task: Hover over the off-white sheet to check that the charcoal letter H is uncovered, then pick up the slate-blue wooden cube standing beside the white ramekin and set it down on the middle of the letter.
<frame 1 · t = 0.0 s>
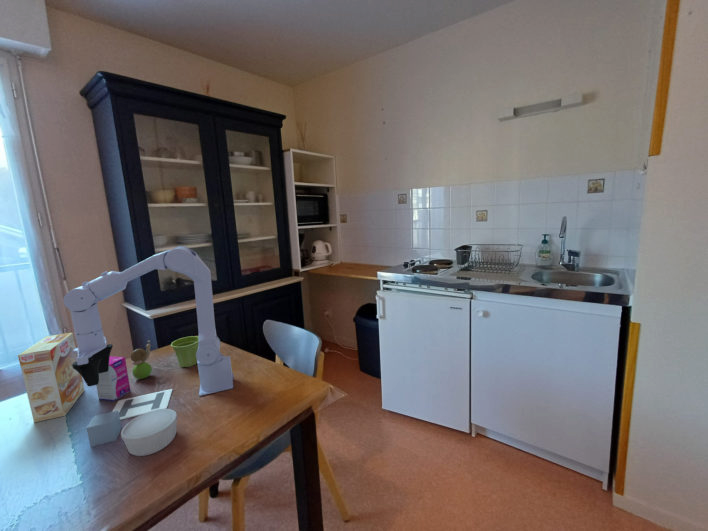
hand: (98, 378, 88), 10 cm above the table, tool pointing down, fingers open, 7 cm apart
supplement box: (115, 396, 98), on the table
plant pot: (189, 364, 116), on the table
snail figurine: (145, 377, 108), on the table
ramekin: (153, 443, 76), on the table
blue cube: (106, 437, 79), on the table
coffeecake box: (61, 405, 94), on the table
letter sheet: (142, 405, 92), on the table
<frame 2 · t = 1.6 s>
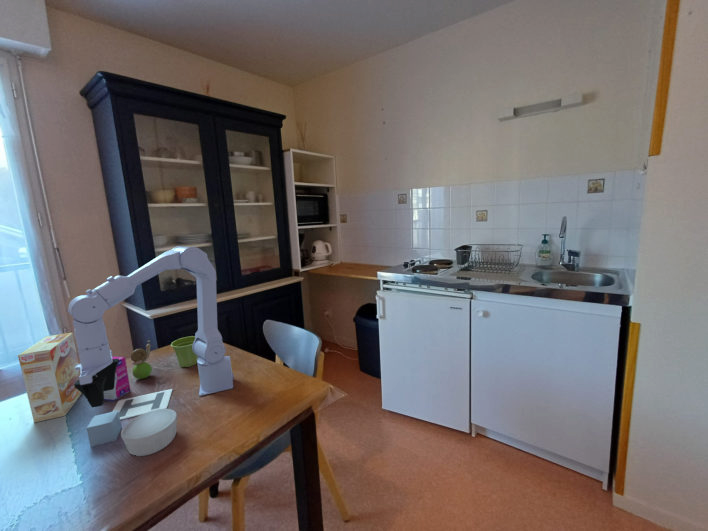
hand: (103, 397, 79), 10 cm above the table, tool pointing down, fingers open, 7 cm apart
nothing on the table moved.
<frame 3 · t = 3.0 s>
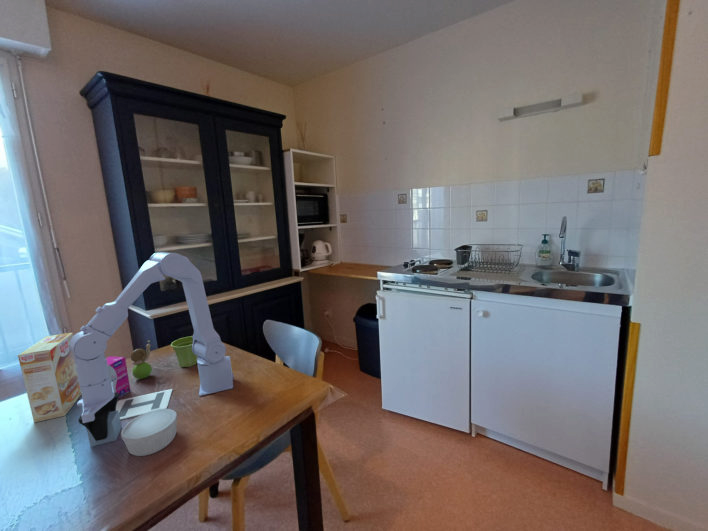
hand: (105, 431, 79), 1 cm above the table, tool pointing down, fingers closed on blue cube, 5 cm apart
blue cube: (106, 436, 79), on the table, touching gripper
everything else where it was.
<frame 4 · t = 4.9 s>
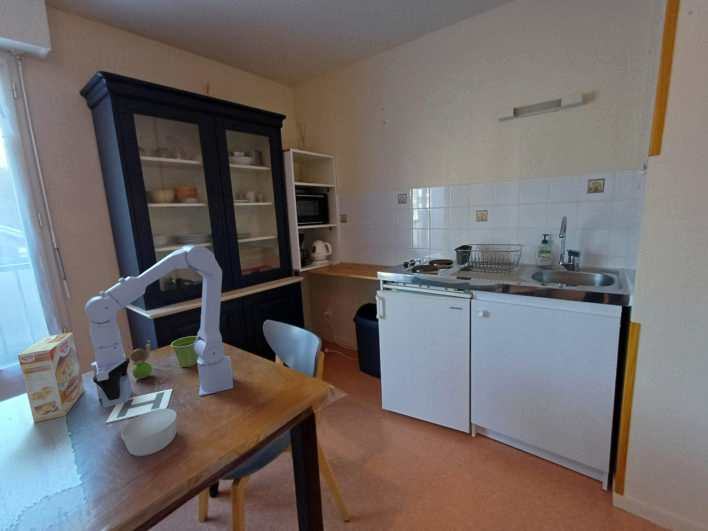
hand: (117, 393, 83), 8 cm above the table, tool pointing down, fingers closed on blue cube, 5 cm apart
blue cube: (118, 399, 83), point 7 cm above the table, touching gripper
everything else where it was.
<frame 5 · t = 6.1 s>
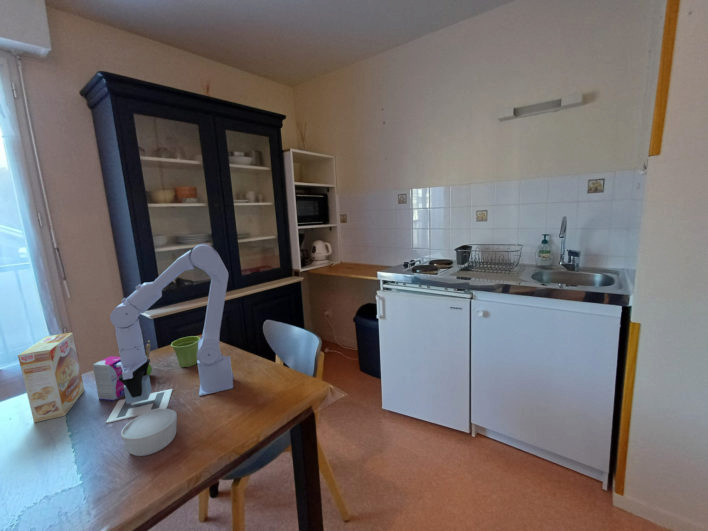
hand: (139, 391, 91), 4 cm above the table, tool pointing down, fingers closed on blue cube, 5 cm apart
blue cube: (139, 397, 91), point 3 cm above the table, touching gripper
everything else where it was.
when the fingers open (3 cm above the table, at t = 6.9 s): blue cube stays where it is, resting on letter sheet.
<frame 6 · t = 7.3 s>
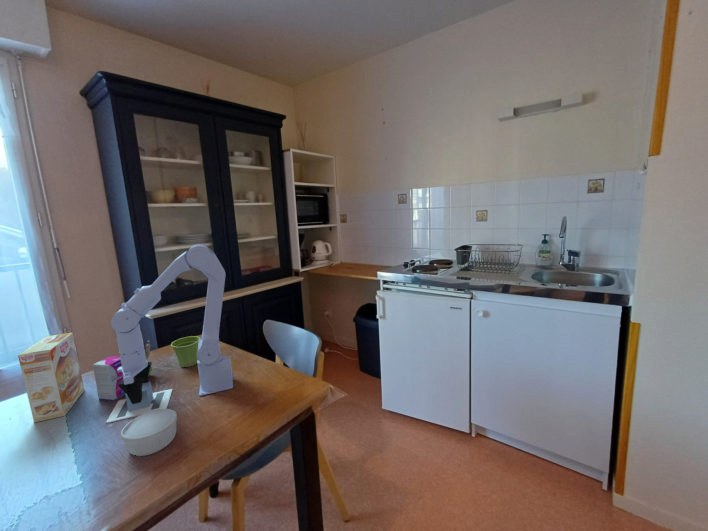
hand: (140, 395, 91), 3 cm above the table, tool pointing down, fingers open, 7 cm apart
blue cube: (141, 404, 91), resting on letter sheet
everything else where it was.
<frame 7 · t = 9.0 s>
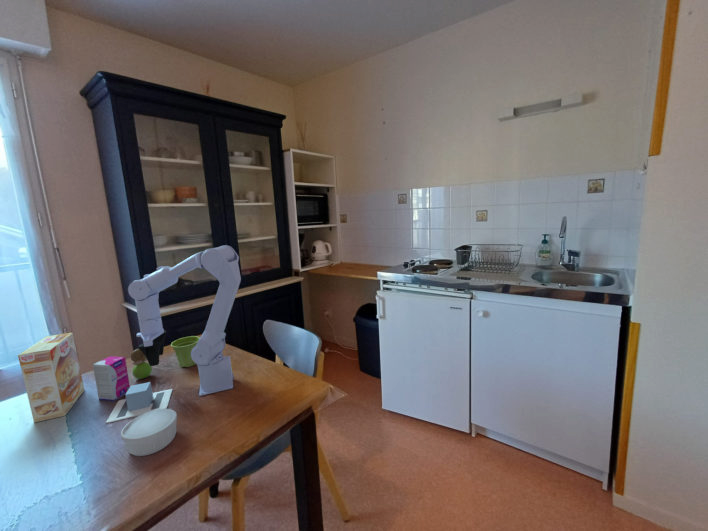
hand: (157, 359, 99), 9 cm above the table, tool pointing down, fingers open, 7 cm apart
nothing on the table moved.
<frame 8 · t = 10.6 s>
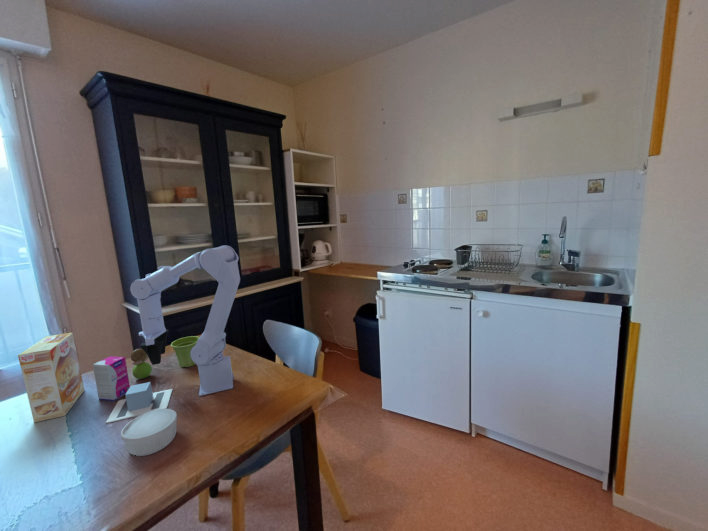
hand: (158, 358, 100), 9 cm above the table, tool pointing down, fingers open, 7 cm apart
nothing on the table moved.
at the end: blue cube 0.2 cm off-centre on the letter sheet, point 0.3 cm above the letter sheet's base; blue cube tilted 0°; the gripper is holding nothing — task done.
